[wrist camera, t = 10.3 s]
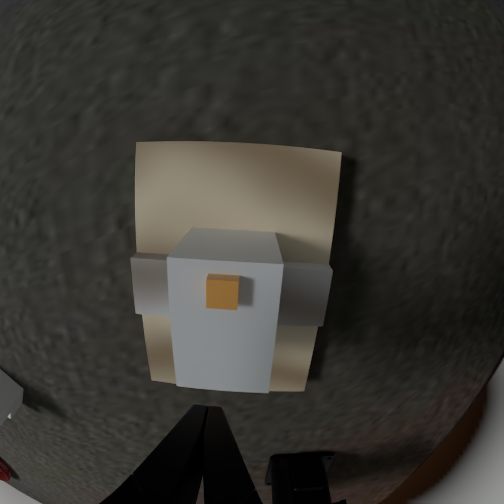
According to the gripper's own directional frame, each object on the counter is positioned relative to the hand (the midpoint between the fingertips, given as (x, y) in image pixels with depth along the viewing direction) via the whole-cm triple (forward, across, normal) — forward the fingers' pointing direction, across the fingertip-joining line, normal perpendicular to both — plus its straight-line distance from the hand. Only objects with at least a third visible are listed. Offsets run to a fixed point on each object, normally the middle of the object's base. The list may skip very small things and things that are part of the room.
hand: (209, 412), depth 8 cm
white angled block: (+11, +27, +16) cm, 33 cm away
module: (+10, 0, 0) cm, 10 cm away
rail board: (+11, 0, 0) cm, 11 cm away
